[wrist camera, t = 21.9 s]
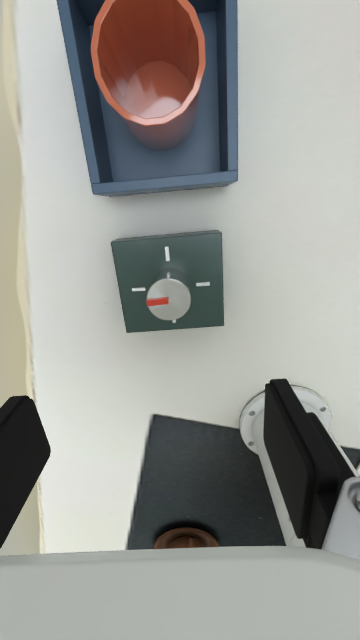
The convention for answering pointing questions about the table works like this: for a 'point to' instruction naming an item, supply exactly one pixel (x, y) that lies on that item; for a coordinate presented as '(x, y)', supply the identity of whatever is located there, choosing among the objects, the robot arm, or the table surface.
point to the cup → (150, 67)
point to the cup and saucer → (185, 539)
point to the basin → (122, 148)
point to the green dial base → (170, 252)
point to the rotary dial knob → (169, 294)
